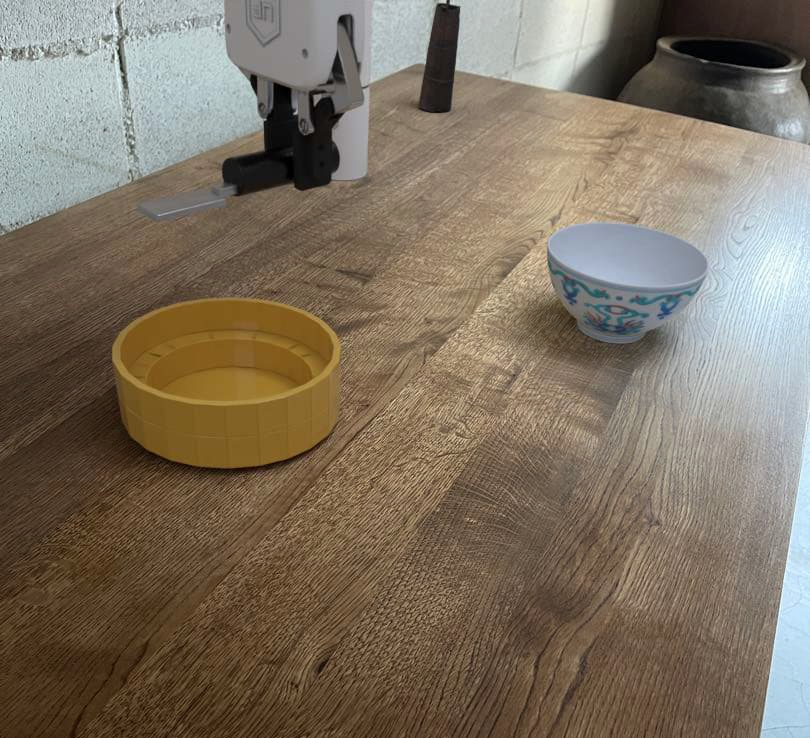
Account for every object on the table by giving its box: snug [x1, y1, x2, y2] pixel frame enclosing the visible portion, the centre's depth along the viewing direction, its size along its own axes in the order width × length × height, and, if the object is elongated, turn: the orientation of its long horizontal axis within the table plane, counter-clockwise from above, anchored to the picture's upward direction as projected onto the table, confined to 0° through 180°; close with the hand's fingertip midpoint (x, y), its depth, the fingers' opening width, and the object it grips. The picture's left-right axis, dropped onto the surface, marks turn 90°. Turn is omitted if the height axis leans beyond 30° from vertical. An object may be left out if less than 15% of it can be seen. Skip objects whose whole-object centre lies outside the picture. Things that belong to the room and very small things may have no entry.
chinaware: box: [546, 221, 710, 345], centre depth 88 cm, size 15×15×8 cm
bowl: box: [111, 296, 342, 469], centre depth 72 cm, size 17×17×6 cm
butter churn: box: [418, 0, 461, 113], centre depth 138 cm, size 9×10×28 cm
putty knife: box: [136, 140, 340, 223], centre depth 65 cm, size 16×3×3 cm, turn 134°
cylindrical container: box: [313, 0, 374, 181], centre depth 113 cm, size 7×7×25 cm
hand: (298, 177), depth 69 cm, fingers closed on putty knife, 2 cm apart
